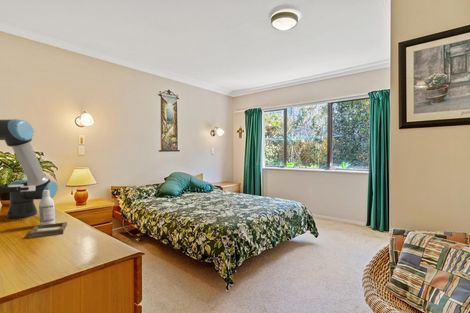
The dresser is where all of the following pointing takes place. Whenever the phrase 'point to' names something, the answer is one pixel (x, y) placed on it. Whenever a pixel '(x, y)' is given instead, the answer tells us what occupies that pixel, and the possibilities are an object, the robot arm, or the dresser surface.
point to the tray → (48, 230)
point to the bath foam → (46, 209)
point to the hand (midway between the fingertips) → (29, 187)
